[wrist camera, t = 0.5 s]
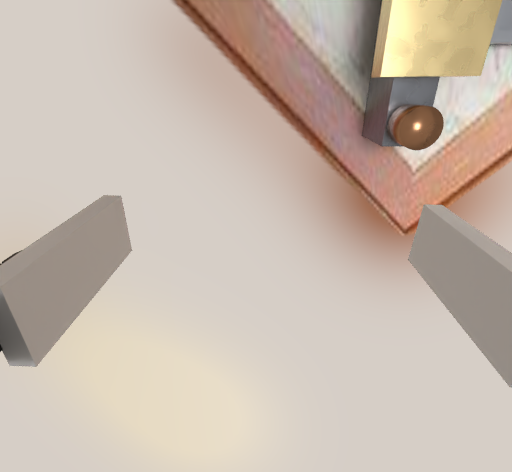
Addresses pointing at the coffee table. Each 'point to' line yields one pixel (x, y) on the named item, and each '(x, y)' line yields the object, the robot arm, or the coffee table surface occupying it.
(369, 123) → the plane
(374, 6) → the coffee table surface
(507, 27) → the tray
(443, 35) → the lever cap
